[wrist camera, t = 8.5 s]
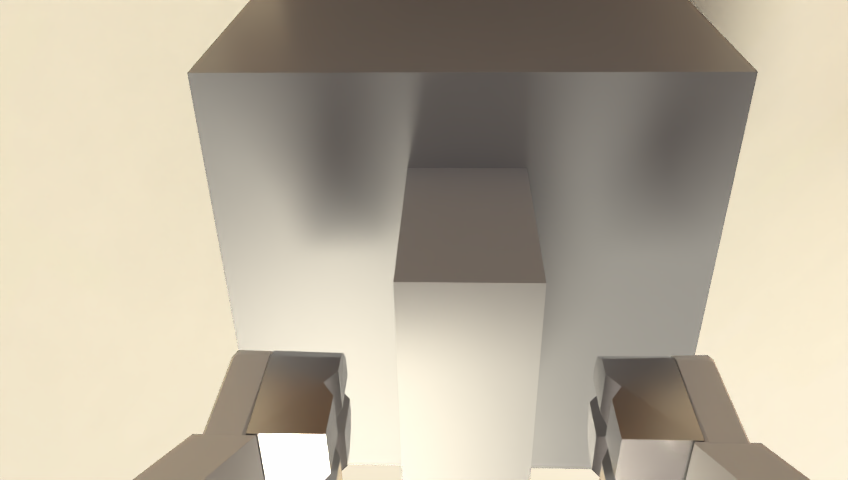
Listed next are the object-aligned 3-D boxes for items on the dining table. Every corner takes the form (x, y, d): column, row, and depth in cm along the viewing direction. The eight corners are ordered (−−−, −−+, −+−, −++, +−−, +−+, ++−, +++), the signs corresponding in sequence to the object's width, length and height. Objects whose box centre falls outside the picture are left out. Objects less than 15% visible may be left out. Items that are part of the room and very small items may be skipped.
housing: (273, -26, 16) (106, 166, 8) (660, -29, 16) (851, 169, 8) (309, 286, 20) (219, 603, 13) (615, 289, 20) (713, 616, 12)
